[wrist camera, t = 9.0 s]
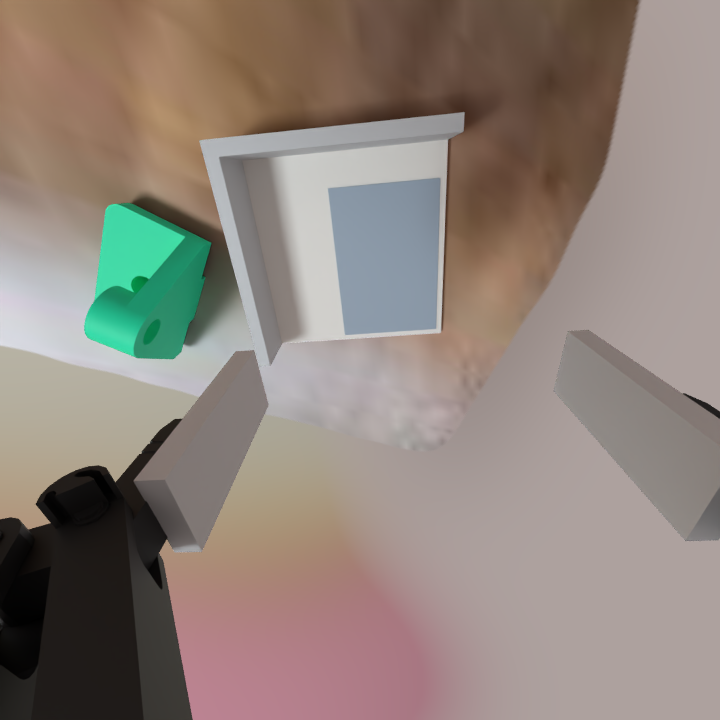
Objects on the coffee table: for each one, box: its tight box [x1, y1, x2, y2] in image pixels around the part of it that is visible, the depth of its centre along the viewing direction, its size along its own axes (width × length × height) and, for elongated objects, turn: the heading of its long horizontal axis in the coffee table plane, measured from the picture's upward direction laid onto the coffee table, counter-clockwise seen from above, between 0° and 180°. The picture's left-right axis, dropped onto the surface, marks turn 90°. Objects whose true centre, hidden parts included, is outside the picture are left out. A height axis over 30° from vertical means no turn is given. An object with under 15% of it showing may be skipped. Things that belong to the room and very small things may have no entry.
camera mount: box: [84, 203, 211, 359], centre depth 27 cm, size 12×8×10 cm, turn 153°
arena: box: [199, 112, 465, 367], centre depth 27 cm, size 17×17×5 cm
